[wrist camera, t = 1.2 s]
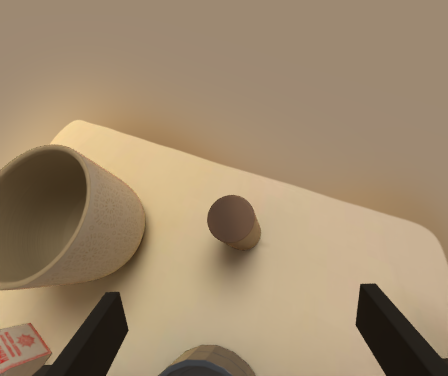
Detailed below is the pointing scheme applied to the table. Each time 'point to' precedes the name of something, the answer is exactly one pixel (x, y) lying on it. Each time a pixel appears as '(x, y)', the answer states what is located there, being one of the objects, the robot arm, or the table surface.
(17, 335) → the tea bag
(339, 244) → the table surface
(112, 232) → the planter
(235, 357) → the bowl
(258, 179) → the table surface
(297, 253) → the table surface
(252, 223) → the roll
